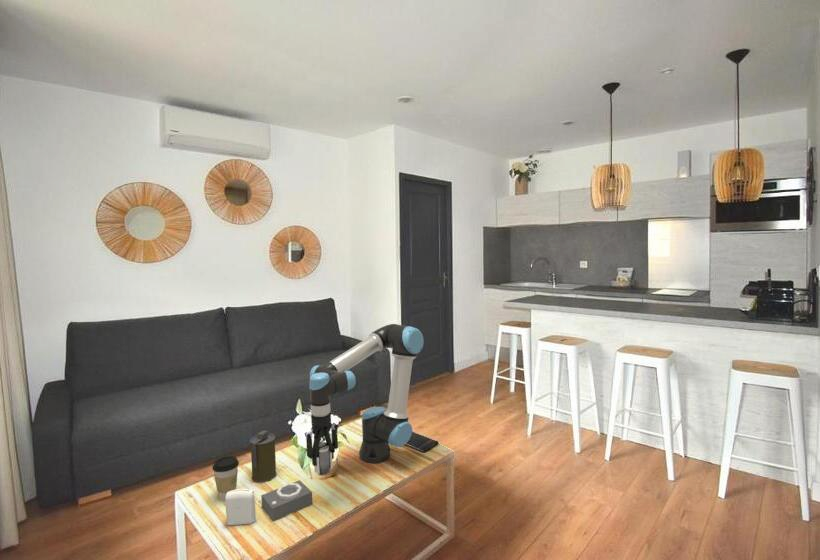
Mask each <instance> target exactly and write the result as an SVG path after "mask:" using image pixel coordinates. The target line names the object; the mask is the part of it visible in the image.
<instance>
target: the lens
mask: <svg viewBox="0 0 820 560" xmlns="http://www.w3.org/2000/svg"><path fill="white" fill-rule="evenodd" d="M317 457H318V458H319V470H320V474H317V475H318V476H326V475H329V474H330V472H331V469H330V457H329V444H328V443H327V442H326V441H324V442H323V441H322V442H321V441H320V443H319V448H318V454H317Z"/></svg>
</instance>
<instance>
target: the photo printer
mask: <svg viewBox="0 0 820 560" xmlns="http://www.w3.org/2000/svg"><path fill="white" fill-rule="evenodd" d="M255 497H256V496H255V491H254V490H253V489H250V488H236V490H232V491H229V492H227V494H226V498H225V501H224V503H225V514H226V515H225V516H226V517H225V518H226V525H227V526H237V525H248V524H253V523H254V522H256V519H257V517H256V515H257V513H256V503H255V502H256V499H255Z"/></svg>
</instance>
